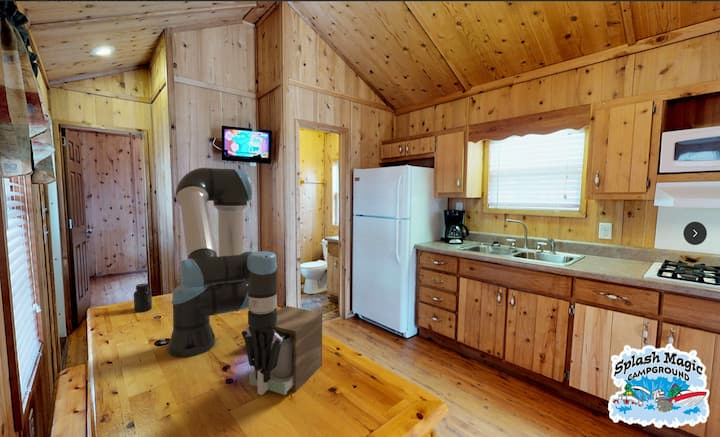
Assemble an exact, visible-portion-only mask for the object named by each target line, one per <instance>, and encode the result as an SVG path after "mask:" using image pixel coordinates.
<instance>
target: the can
mask: <svg viewBox="0 0 720 437" xmlns="http://www.w3.org/2000/svg"><path fill="white" fill-rule="evenodd" d="M277 334H278V335H279V336H280V337H281V336H284V338H285V339H284V341H283V342H282V344H281V348H280V353H279V357H278V362H277V366H276V367H275V368H274V369H273V370H272V371H270V373H271V374H272V375H273V376H275V377H276V378H286V377H288V376H290V375H291V374H292V373H293V372H294V336H293V334H291V333H286V332H282V331H279V332H277ZM273 340H274V338H273V339H272V344H271V350H272V346H273V344H274V343H273Z"/></svg>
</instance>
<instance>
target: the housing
mask: <svg viewBox="0 0 720 437" xmlns="http://www.w3.org/2000/svg"><path fill="white" fill-rule="evenodd" d="M276 329H277V332H279V331H282V332H286V333H291V334H293V336H294V385H293V386H292V387H291V388H290V389H289V390H288V391H292V392H297V391H298V390H300V388H301V387H302V386H304V385H305V383H306V382H307V381H308V380H309V379H310V378H311V377H312V376H313V375H315V373H316V372H317V371H319V369H320V368H322V366H323V312H320V311H314V310H311V309H310V310H309V309H304V308H300V307H299V308H298V307H294V306H289V305H285V306H284V307H281V308H280V309H277V322H276Z"/></svg>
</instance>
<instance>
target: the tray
mask: <svg viewBox="0 0 720 437" xmlns="http://www.w3.org/2000/svg"><path fill="white" fill-rule="evenodd" d="M248 381H249V385H252V386H255V387H258V380H256V371H255V372H254V371H250V372H248ZM293 385H294V372H293V373H292V374H291V375H290V376H288V377H286V378H276V377H275V376H273V375H272V374H271V373H270V380H269V381H268V390H267V391H271V392H274V393H277V394H281V395H283V396H286V395H287V394H288V391H290V390H289V389H290V388H291V387H292V386H293Z"/></svg>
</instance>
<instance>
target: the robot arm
mask: <svg viewBox="0 0 720 437" xmlns="http://www.w3.org/2000/svg"><path fill="white" fill-rule="evenodd" d="M252 199H253V186H252V181H251V178H250V175H249V174H248V172H247V171H245V170H242V169H235V168H213V167H212V168H211V167H199V168H194V169H193V170H190V171H189V172H187V173H186V174H185V175H183V177H181V179H180V180H179V182H178V184H177V186H176V190H175V200H176V203H177V205H178V206H180V212H181V221H182V226H183V235H184V243H185V250H186V251H185V252H186V259H183V260H181V262H180V267H179V268H180V282H181V284H180V285H178V286H176V287H175V288H174V289H173V290H172V299H171V304H172V327H173V328H172V329H173V330H172V332H171V335H170V340H169V342H168V344H167V349H168V350H167V351H168V354H169V355H171V356H174V357H181V358H183V357H184V358H185V357H190V356H191V357H192V356H195V355H200V354H202V353H205V352H206V351H207V352H208V351H209V350H210V349H212V348H213V347H215V345H216V335H215V333H214V330H213V328H212V325H211V323H210V319H211V318H210V317H211V316H217V315H223V314H228V313H234V312H239V311H242V310H246V309H248V312H247V324H248V325H249V326H248V327H247V328H246V329H245V330H243V331H242V332H241V336H242V338H243V340H244V344H245V350H246V355H247V359H248V365H249V366H250V367H253V368H254V369H255V372H256V380H258V386H257V394H258V395H261V396H263V395H264V394H265V393H266V392H267V391H269V390H268V381H269V380H270V371H272V370H273V369H274V368H275V367H276V366H277V362H278V357H279V353H280V348H281V344H282V342H283V341H284V339H285V338H284V336H281V337H280V336H279V335H278V334H277V329H276V322H277V311H278V309H277V306H278V295H277V294H278V290H277V288H278V286H277V285H278V283H277V282H278V280H277V279H278V276H277V275H278V273H277V272H278V262H277V255H276V253H275V252H272V251H265V250H261V251H244V210H245V208H247V207H248V202H250V201H251V200H252ZM209 201H211V202H212V203H213V206H214V208H215V209H216V210H217V213H218V214H217V215H218V217H217V218H218V219H217V223H218V224H217V225H218V252H217V249H216V243H215V239H214V234H213V228H212V224H211V218H210V213H209V209H208V208H209V207H208V205H207V203H208V202H209ZM273 338H274V340H273V343H274V344H273V346H272V350H271V344H272V339H273Z"/></svg>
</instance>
